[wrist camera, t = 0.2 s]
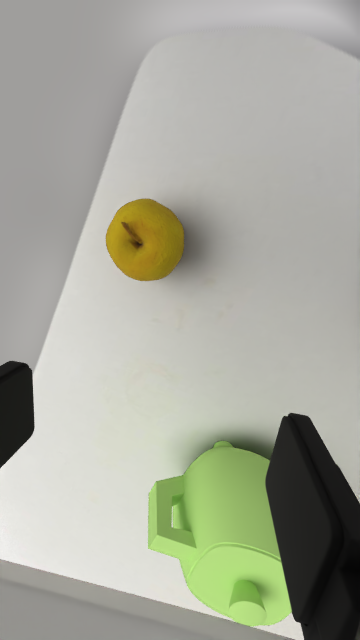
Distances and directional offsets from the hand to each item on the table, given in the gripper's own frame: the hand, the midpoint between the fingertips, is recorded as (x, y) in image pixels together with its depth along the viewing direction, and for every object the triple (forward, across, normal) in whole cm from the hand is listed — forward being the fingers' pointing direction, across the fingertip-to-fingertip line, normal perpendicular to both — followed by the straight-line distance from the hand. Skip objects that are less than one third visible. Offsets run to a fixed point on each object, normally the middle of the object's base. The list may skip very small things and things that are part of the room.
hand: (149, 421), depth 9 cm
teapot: (+18, -8, +20) cm, 29 cm away
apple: (+18, +4, -6) cm, 20 cm away
